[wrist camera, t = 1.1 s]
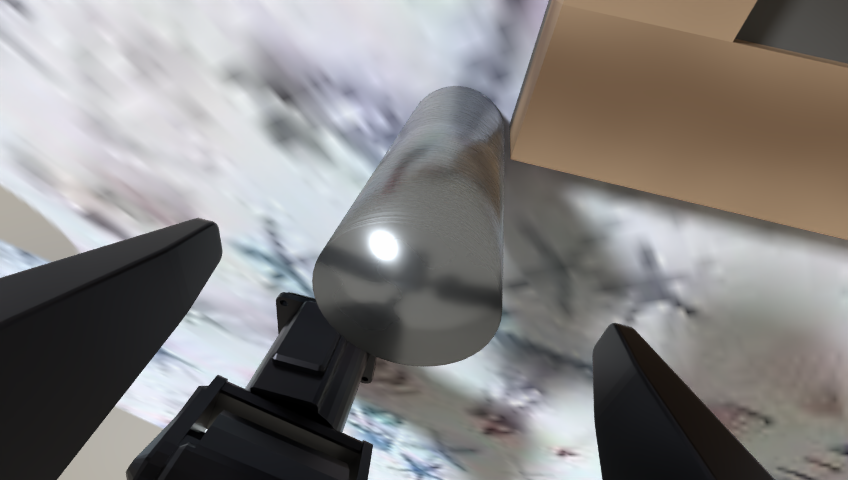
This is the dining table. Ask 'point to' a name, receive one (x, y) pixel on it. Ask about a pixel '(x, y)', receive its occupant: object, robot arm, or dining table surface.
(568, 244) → the dining table surface
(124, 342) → the robot arm
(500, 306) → the metal pin
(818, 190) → the walnut block
